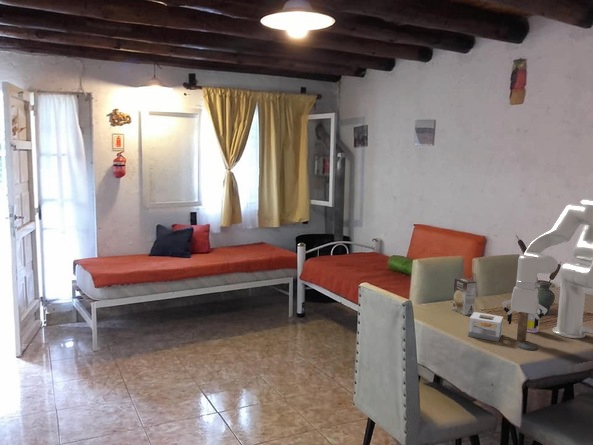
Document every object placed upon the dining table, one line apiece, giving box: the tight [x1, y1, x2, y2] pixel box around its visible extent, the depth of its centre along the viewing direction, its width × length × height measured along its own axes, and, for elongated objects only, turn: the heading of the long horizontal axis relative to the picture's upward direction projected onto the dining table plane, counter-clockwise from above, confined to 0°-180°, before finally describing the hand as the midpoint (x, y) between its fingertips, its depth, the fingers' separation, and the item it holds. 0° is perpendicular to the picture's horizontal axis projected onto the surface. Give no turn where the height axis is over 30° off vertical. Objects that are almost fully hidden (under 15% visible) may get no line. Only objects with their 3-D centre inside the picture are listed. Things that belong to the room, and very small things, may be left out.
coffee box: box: [452, 277, 477, 316], centre depth 253 cm, size 9×6×16 cm
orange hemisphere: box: [480, 322, 492, 328], centre depth 220 cm, size 4×4×2 cm
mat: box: [517, 342, 538, 351], centre depth 208 cm, size 7×7×1 cm
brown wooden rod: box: [516, 312, 528, 343], centre depth 215 cm, size 4×4×14 cm
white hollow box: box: [467, 311, 504, 342], centre depth 220 cm, size 12×10×8 cm
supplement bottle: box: [527, 308, 541, 334], centre depth 228 cm, size 7×7×13 cm
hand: (522, 325), depth 215 cm, fingers open, 9 cm apart
